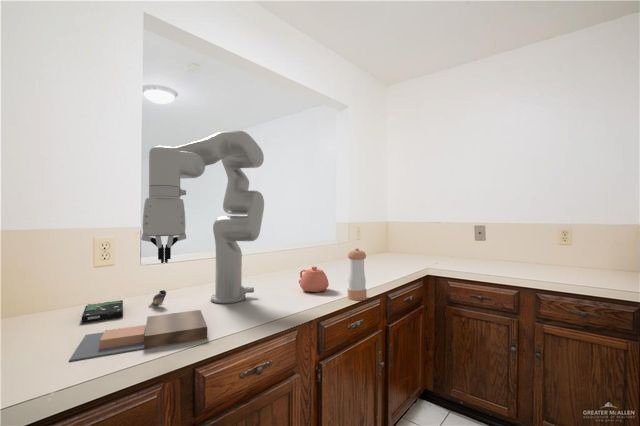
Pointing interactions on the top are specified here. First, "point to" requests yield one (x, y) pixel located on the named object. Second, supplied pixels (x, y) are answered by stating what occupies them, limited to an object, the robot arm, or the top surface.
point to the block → (122, 336)
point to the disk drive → (102, 311)
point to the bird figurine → (158, 299)
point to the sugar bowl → (313, 280)
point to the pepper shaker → (357, 276)
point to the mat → (91, 349)
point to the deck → (174, 328)
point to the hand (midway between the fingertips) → (164, 262)
